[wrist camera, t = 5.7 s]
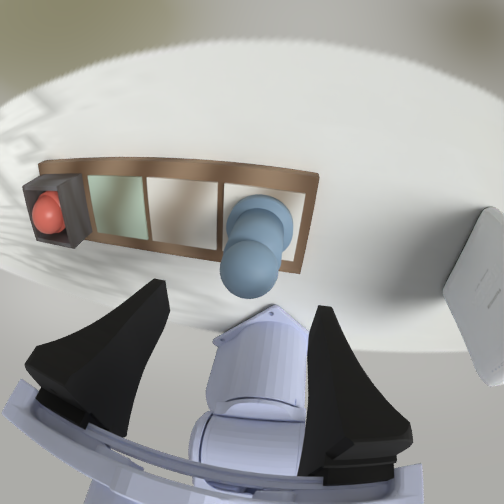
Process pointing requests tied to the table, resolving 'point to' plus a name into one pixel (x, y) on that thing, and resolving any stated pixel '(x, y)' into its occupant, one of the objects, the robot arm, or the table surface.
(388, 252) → the table surface
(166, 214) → the game board
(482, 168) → the table surface
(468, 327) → the photo printer
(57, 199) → the dome
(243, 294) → the pawn
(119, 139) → the table surface
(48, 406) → the robot arm
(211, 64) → the table surface
